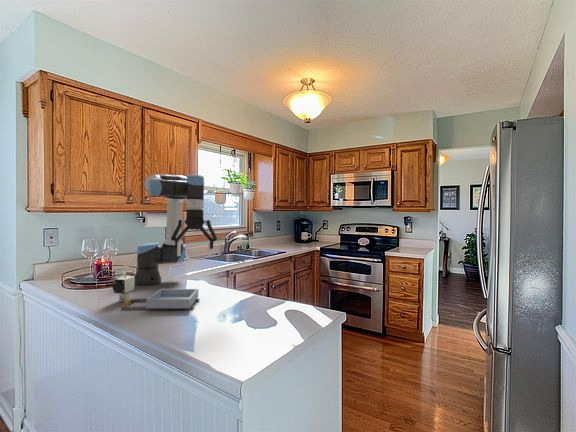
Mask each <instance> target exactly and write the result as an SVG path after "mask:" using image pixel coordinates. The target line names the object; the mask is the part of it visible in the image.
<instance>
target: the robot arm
mask: <svg viewBox="0 0 576 432" xmlns="http://www.w3.org/2000/svg"><path fill="white" fill-rule="evenodd" d="M143 186H144V189H145V190H146V191H148V195H149V196H152V197H153V196H154V197H164V198H165V199H166V201H167V205H166V206H167V208H166V209H167V210H166V225H165V226H166V229H165V239H164V240H162V244H160V243H159V242H148V243H142V244H139V245H138V246H137V248H136V249H137V252H136V255H137V257H136V271H135V274H134V276H135V279H136V281H137V283H136V285H135V286H150V285H153V286H154V285H157V284H160V283H162V275H161V272H160V269H159V265H166V264H167V265H168V264H173V265H174V264H175V265H176V264H180V263H183V261H185V260H184V259H185V258H186V257H185V256H186V252H187V251H186V244H184V240H182V238H183V237H184V235H186V233H188V231H189V230H190V231H191V230H195V231H199V230H200V231H201V232H202V233H203V234H204V237H206V238H207V239H208V240H209V241H208V242H207V257H212V250H213V249H214V242H215V241H217V240H218V237H217V234H216V232H215V230H214V228H213V227H212V223H211V220H210V219H207V220H204V208H205V207H204V205H205V203H204V202H205V200H204V199H205V198H204V197H205V196H204V195H205V192H204V191H205V178H204V176H203V175H200V174H188V175H187V176H185V175H179V174H177V175H176V174H164V173H155V174H151V175H148V176H147V177H146V178H145V179H144V181H143ZM184 201H186V202H185V203H186V204H185V205H186V206H185V208H186V210H185V220H184V219H183V210H184V209H183V208H184V207H183V205H184ZM204 224H205V225H206V226H207V228H208V230H209V232H208V231H207V230H206V229H205V227H204V226H203V225H204ZM183 225H185V226H186V227H184V229H183V230H182V228H183V227H182V226H183Z"/></svg>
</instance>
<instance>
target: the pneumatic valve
mask: <svg viewBox="0 0 576 432" xmlns="http://www.w3.org/2000/svg"><path fill="white" fill-rule="evenodd" d="M113 280H114V281H113V282H114V283H113V284H112V292H113V294H118V296H119V298H118V301H119V302H123V303H124V302H126V301H127V300H129V299H130V298H131V291H133V290H136V286H137V285H136V283H137V281H136V279H135V275H126V274H125V275H123V276H121V277H118V278H115V279H113Z"/></svg>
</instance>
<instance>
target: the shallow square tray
mask: <svg viewBox="0 0 576 432" xmlns="http://www.w3.org/2000/svg"><path fill="white" fill-rule="evenodd" d="M145 299H146V302H145V303H146V304H145V306H146V308H190V307H191V306H193V304H194V303H196V302H195V300H196V299H199V288H160V289H158V290H157V291H156V292H154V293H153V294H152V295H149V297H148V298H145Z"/></svg>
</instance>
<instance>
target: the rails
mask: <svg viewBox="0 0 576 432" xmlns="http://www.w3.org/2000/svg"><path fill="white" fill-rule="evenodd" d="M146 299H147V298H133V297H132V298H131V297H130V299H129V300H127V301H126V302H124V301H123V302H122V307H120V310H121V311H141V310H142V311H163V310H164V311H171V310H170V309H193V308H194V309H195V305H192V306H191V307H190V308H146V305H132V304H133V303H146ZM199 300H200V298H197V299H196V300H195V301H199ZM199 302H200V301H199ZM194 309H193V310H194Z"/></svg>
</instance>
